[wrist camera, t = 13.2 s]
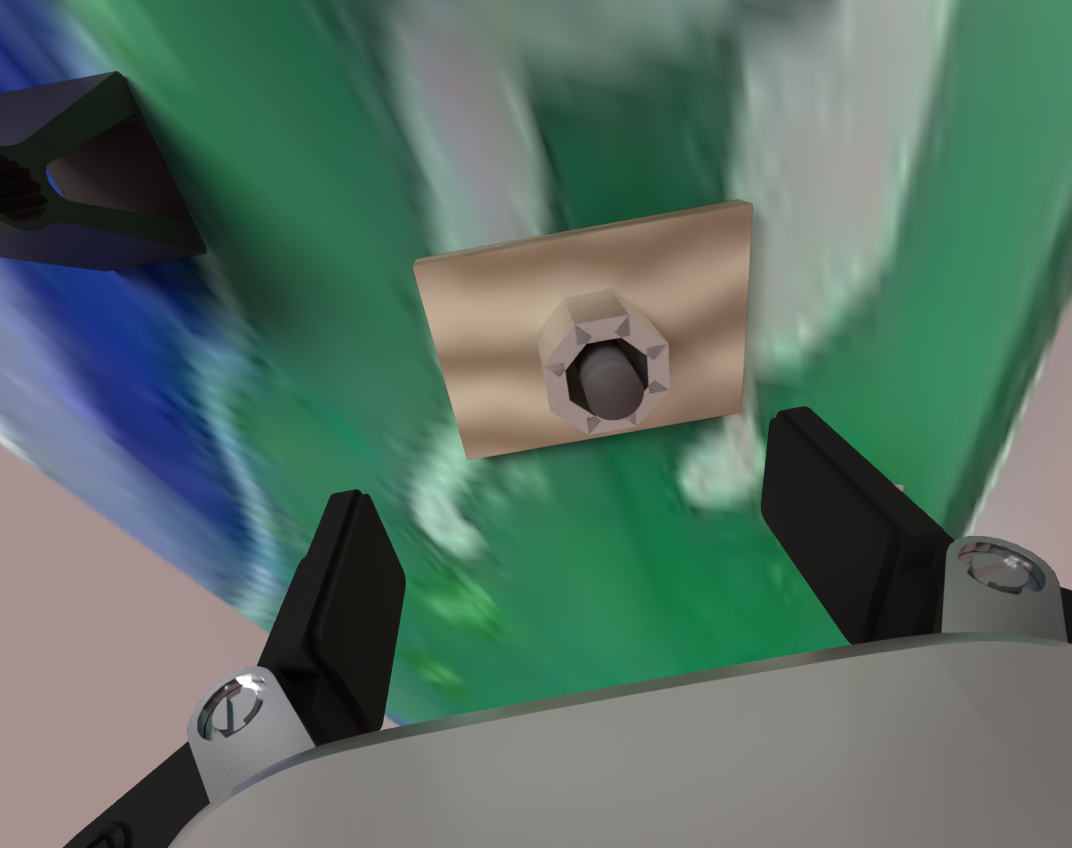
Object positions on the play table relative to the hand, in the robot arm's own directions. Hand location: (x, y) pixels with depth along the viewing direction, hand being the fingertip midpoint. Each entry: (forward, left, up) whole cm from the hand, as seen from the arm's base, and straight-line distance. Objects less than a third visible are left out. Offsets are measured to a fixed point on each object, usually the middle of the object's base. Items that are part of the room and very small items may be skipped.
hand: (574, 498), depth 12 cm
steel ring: (+5, +3, -21) cm, 22 cm away
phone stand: (-9, -21, -23) cm, 33 cm away
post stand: (+5, +4, -23) cm, 24 cm away
